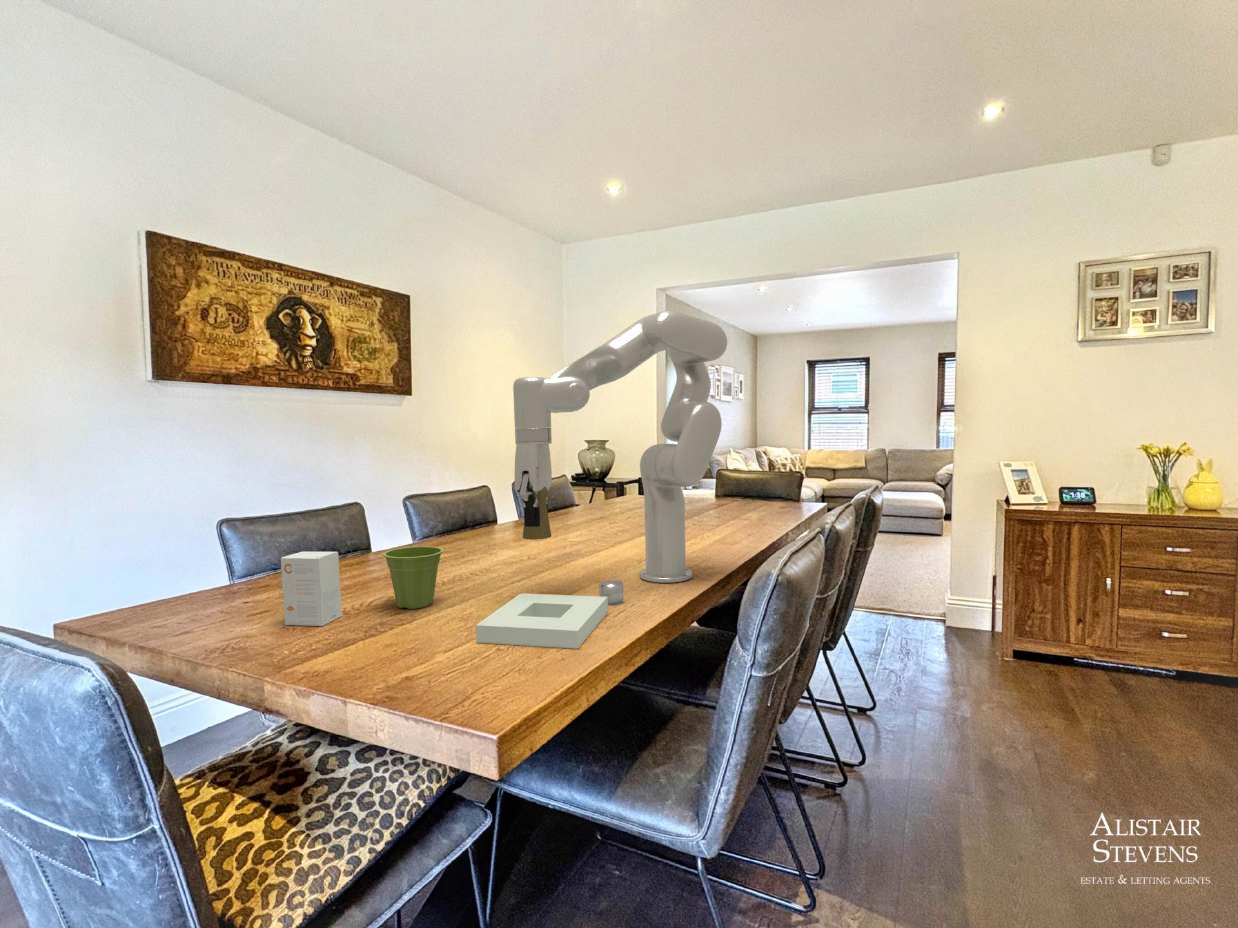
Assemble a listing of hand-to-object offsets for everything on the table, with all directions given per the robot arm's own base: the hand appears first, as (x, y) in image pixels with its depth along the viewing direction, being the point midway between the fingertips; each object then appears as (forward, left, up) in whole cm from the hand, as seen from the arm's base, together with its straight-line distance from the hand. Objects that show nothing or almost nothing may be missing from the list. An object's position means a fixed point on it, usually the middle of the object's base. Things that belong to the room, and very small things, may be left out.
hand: (536, 523), depth 129 cm
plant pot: (+8, -24, -16) cm, 30 cm away
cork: (0, 0, -3) cm, 3 cm away
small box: (+21, -38, -16) cm, 46 cm away
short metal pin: (0, +16, -16) cm, 23 cm away
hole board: (+17, +8, -16) cm, 24 cm away
